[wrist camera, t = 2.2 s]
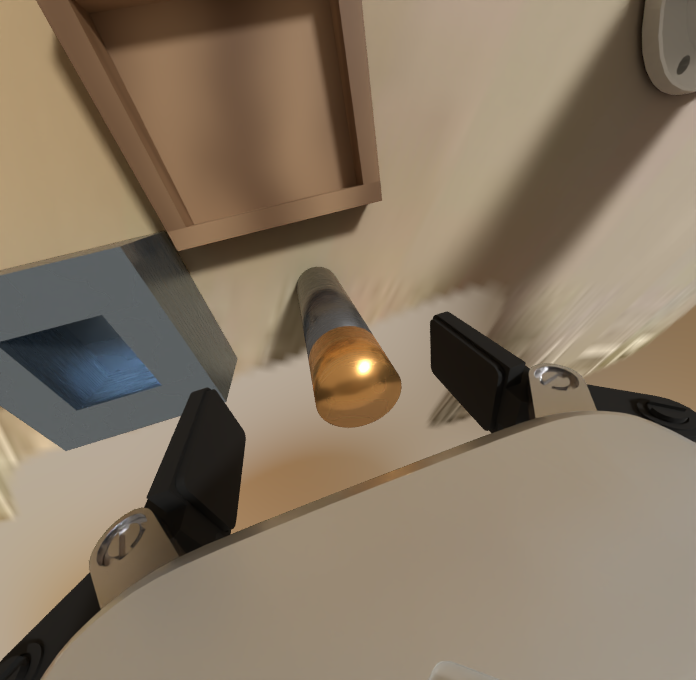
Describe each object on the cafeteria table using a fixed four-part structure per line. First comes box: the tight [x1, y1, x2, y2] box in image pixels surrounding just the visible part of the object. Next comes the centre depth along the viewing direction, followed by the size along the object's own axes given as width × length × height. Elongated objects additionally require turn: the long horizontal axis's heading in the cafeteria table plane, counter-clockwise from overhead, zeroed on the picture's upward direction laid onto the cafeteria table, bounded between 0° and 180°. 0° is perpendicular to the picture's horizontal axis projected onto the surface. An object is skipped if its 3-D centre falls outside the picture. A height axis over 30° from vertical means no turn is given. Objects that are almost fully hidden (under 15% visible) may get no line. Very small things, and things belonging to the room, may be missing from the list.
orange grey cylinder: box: [297, 267, 401, 428], centre depth 14 cm, size 3×3×12 cm
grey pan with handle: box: [0, 231, 237, 451], centre depth 15 cm, size 16×10×5 cm, turn 101°
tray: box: [36, 0, 382, 251], centre depth 12 cm, size 12×10×2 cm
